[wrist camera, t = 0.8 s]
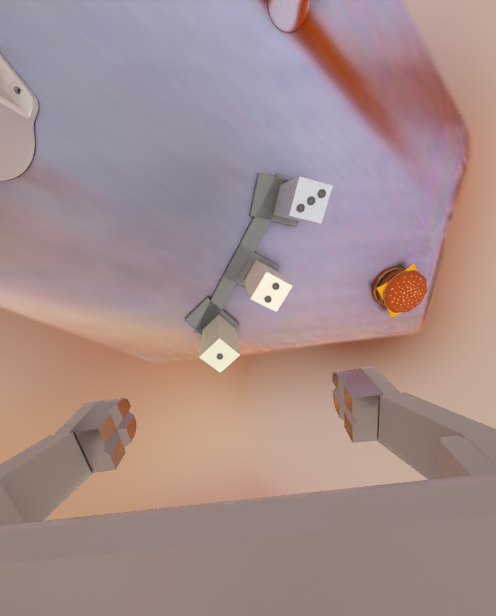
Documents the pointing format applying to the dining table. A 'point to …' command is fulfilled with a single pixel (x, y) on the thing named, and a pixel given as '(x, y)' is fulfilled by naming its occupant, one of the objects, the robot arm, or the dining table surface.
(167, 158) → the dining table surface
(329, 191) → the key three dots
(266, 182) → the grey flat piece
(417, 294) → the hamburger
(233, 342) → the key one dot
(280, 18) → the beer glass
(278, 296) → the key two dots
